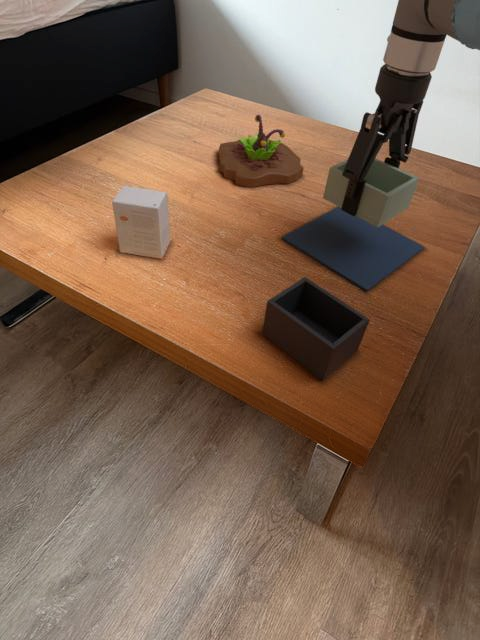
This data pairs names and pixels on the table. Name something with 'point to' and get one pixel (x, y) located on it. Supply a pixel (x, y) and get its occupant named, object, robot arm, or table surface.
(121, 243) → the small box
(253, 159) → the plant
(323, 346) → the bin lower
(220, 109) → the table surface
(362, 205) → the green open bin
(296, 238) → the mat
